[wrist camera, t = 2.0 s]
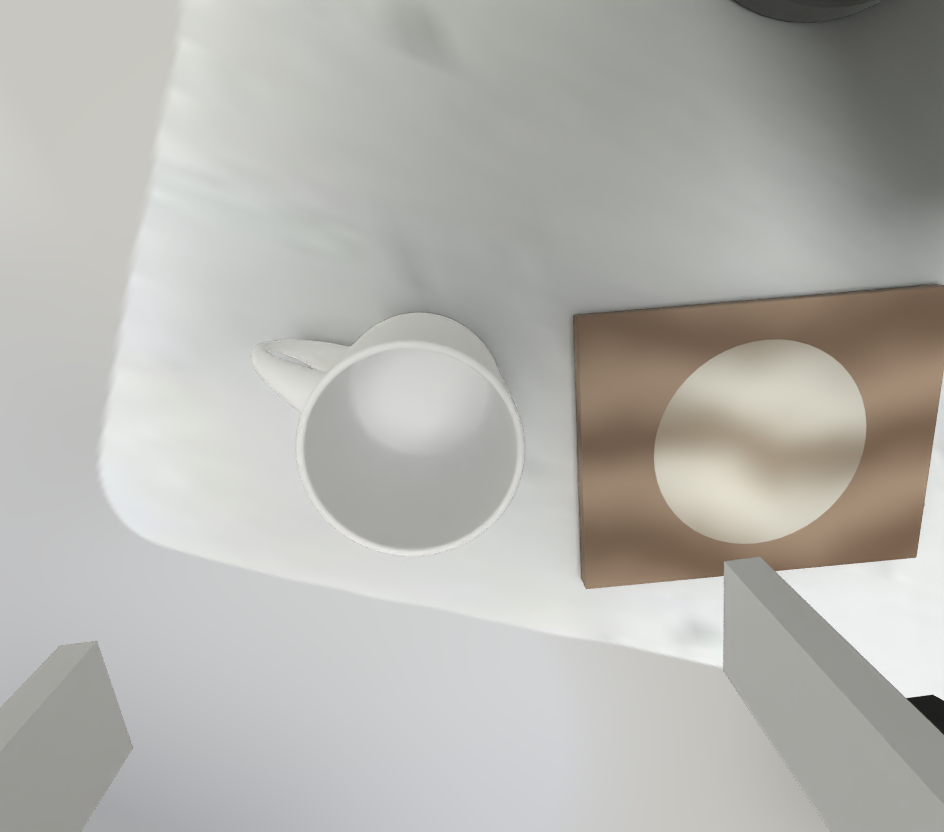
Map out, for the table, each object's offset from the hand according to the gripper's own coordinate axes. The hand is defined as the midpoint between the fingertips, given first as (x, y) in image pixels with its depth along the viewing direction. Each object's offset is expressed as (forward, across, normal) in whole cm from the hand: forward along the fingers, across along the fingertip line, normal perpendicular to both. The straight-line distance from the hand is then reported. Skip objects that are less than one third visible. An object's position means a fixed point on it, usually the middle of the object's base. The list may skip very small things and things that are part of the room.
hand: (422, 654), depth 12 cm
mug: (+21, -2, +2) cm, 21 cm away
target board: (+21, +18, -4) cm, 28 cm away
